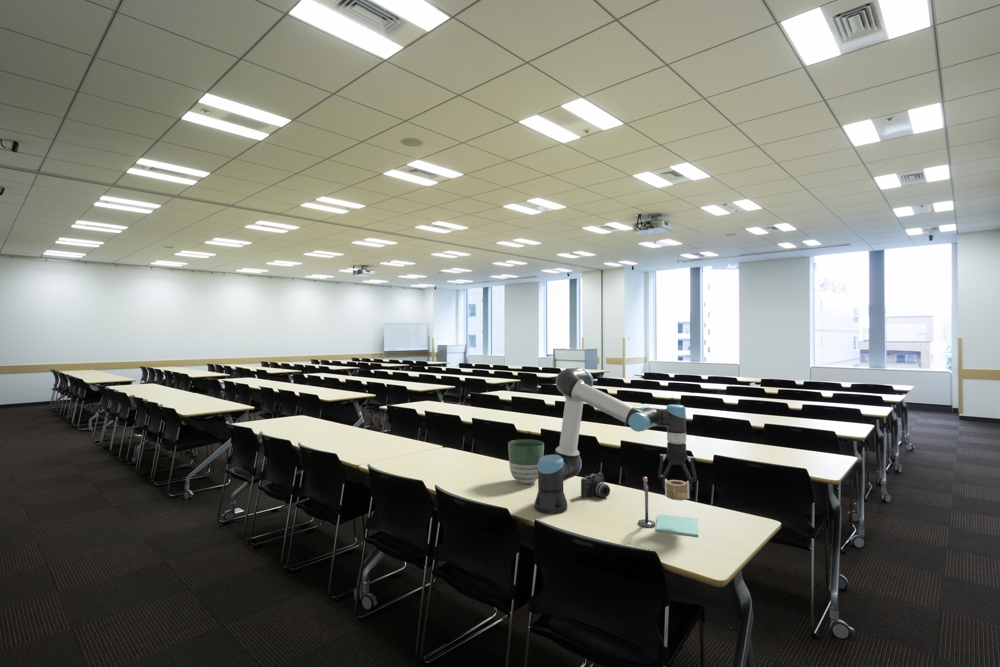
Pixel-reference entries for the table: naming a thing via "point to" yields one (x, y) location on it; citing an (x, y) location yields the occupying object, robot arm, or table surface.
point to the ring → (677, 490)
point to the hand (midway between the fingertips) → (677, 496)
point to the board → (677, 525)
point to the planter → (525, 459)
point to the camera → (594, 486)
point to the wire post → (646, 508)
